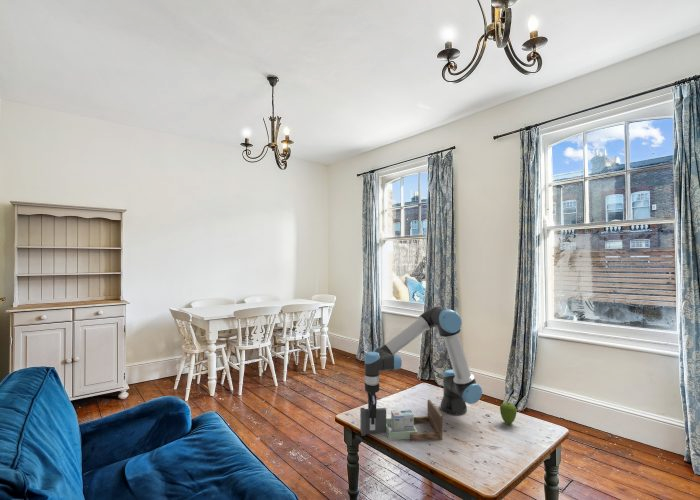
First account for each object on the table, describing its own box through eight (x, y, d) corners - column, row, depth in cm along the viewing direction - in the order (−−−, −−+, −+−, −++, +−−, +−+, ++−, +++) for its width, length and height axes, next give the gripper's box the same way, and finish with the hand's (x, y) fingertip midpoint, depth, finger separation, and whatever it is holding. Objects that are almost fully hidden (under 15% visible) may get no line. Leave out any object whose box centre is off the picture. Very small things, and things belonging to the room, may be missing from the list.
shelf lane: (429, 421, 200) (429, 399, 200) (442, 439, 181) (442, 415, 181) (401, 422, 198) (401, 400, 198) (411, 441, 179) (411, 417, 179)
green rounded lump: (517, 428, 192) (517, 406, 192) (500, 425, 195) (500, 404, 196) (516, 421, 200) (516, 400, 200) (499, 418, 204) (499, 398, 204)
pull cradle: (409, 423, 197) (409, 401, 197) (417, 438, 181) (417, 414, 181) (358, 426, 194) (359, 403, 194) (363, 441, 178) (363, 416, 178)
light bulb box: (410, 429, 191) (410, 408, 191) (414, 435, 184) (414, 414, 184) (390, 430, 190) (390, 409, 190) (394, 436, 183) (394, 415, 183)
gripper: (362, 378, 194) (362, 422, 194) (367, 388, 179) (367, 436, 179) (376, 377, 195) (376, 421, 194) (382, 388, 180) (382, 435, 179)
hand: (372, 428), depth 187 cm, fingers closed on pull cradle, 2 cm apart
